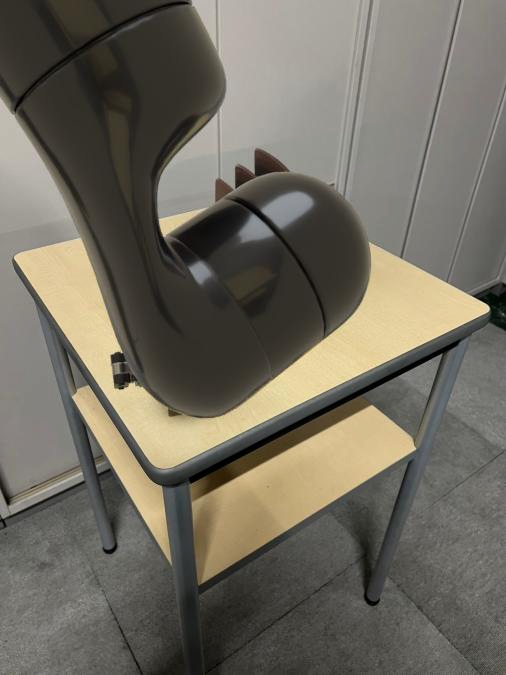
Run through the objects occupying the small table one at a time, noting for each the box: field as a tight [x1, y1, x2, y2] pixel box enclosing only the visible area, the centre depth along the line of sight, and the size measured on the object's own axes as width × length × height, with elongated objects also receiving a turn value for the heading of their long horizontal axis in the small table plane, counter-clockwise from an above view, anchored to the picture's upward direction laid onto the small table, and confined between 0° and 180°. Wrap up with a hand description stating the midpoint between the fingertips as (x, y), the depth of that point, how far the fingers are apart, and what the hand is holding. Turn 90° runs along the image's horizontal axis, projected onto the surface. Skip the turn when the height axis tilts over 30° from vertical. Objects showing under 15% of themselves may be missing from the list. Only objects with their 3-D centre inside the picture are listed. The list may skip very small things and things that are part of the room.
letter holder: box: [214, 147, 291, 203], centre depth 102 cm, size 10×20×14 cm, turn 22°
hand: (188, 369), depth 52 cm, fingers open, 8 cm apart
